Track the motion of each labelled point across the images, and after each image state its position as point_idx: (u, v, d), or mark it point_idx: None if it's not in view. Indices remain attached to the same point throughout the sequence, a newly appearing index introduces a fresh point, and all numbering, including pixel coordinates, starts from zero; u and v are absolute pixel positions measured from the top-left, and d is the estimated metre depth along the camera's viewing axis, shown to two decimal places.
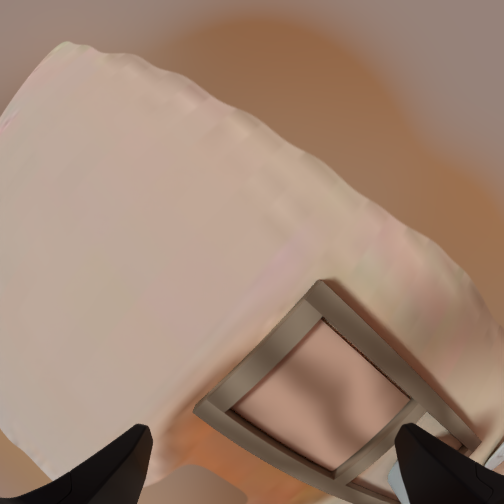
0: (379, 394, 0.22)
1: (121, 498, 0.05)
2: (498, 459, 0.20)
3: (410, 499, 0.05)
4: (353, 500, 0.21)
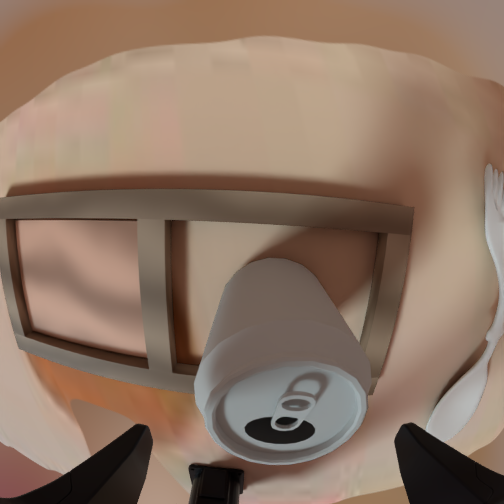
0: (96, 241, 0.19)
1: (121, 498, 0.05)
2: None
3: (410, 499, 0.05)
4: None
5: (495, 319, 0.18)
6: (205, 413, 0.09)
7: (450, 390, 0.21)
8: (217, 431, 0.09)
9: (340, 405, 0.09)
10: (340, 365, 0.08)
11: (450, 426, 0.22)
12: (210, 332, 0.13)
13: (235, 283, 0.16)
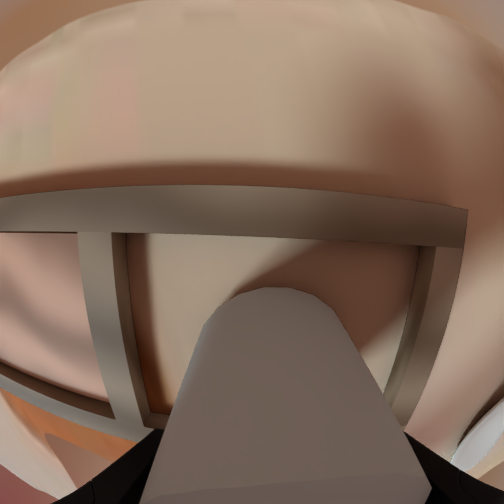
0: (39, 259, 0.13)
1: None
2: None
3: None
4: None
5: None
6: None
7: (480, 423, 0.14)
8: None
9: None
10: None
11: (475, 454, 0.16)
12: (165, 429, 0.06)
13: (211, 334, 0.10)
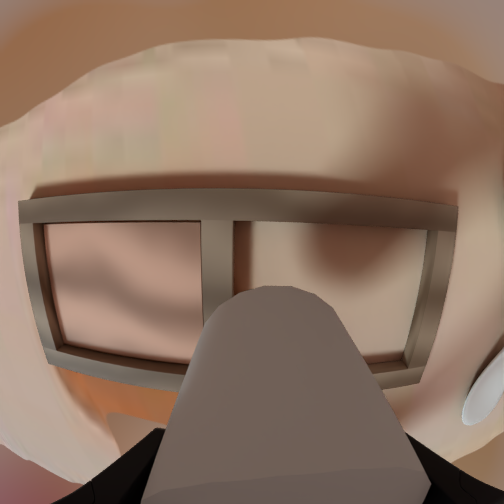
0: (147, 244, 0.19)
1: None
2: None
3: None
4: None
5: None
6: None
7: (482, 374, 0.20)
8: None
9: None
10: None
11: (483, 407, 0.22)
12: (167, 425, 0.07)
13: (213, 332, 0.10)
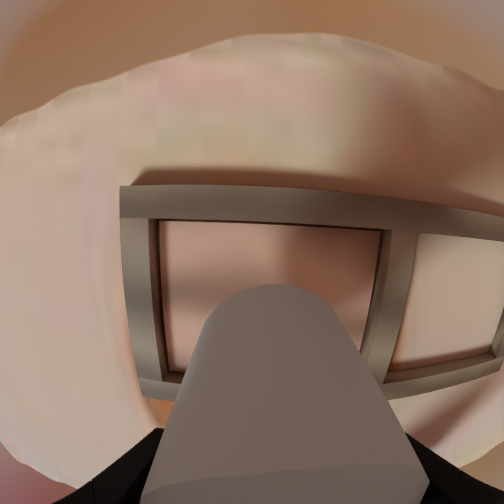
0: (322, 252, 0.17)
1: None
2: None
3: None
4: (413, 391, 0.19)
5: None
6: None
7: None
8: None
9: None
10: None
11: None
12: (167, 422, 0.07)
13: (213, 330, 0.10)
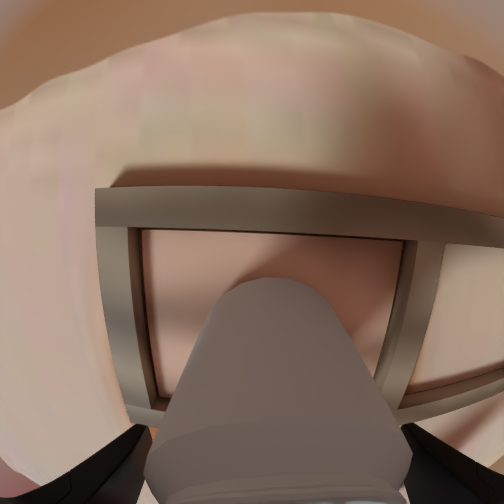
0: (336, 267, 0.14)
1: (120, 498, 0.05)
2: None
3: (410, 499, 0.05)
4: (429, 415, 0.16)
5: None
6: None
7: None
8: None
9: None
10: (376, 491, 0.03)
11: None
12: (173, 394, 0.08)
13: (217, 315, 0.11)
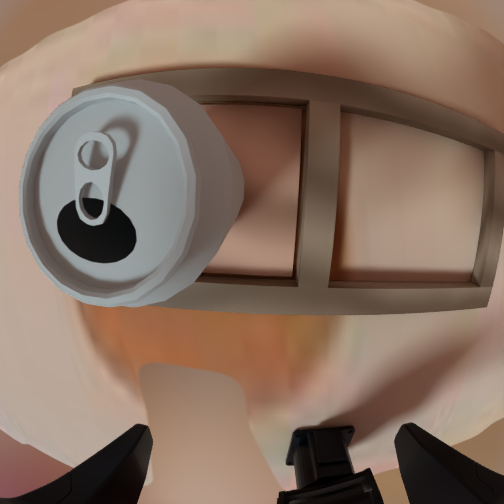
0: (240, 127, 0.17)
1: (121, 498, 0.05)
2: None
3: (410, 499, 0.05)
4: (373, 308, 0.18)
5: None
6: (19, 188, 0.06)
7: None
8: (28, 221, 0.06)
9: (163, 178, 0.07)
10: (144, 91, 0.06)
11: None
12: None
13: None
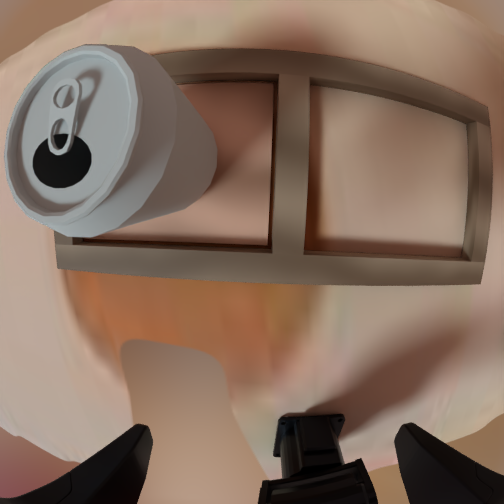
0: (215, 102, 0.17)
1: (121, 498, 0.05)
2: None
3: (410, 499, 0.05)
4: (354, 279, 0.18)
5: None
6: (6, 134, 0.06)
7: None
8: (9, 160, 0.07)
9: (116, 109, 0.07)
10: (107, 46, 0.06)
11: None
12: None
13: None
